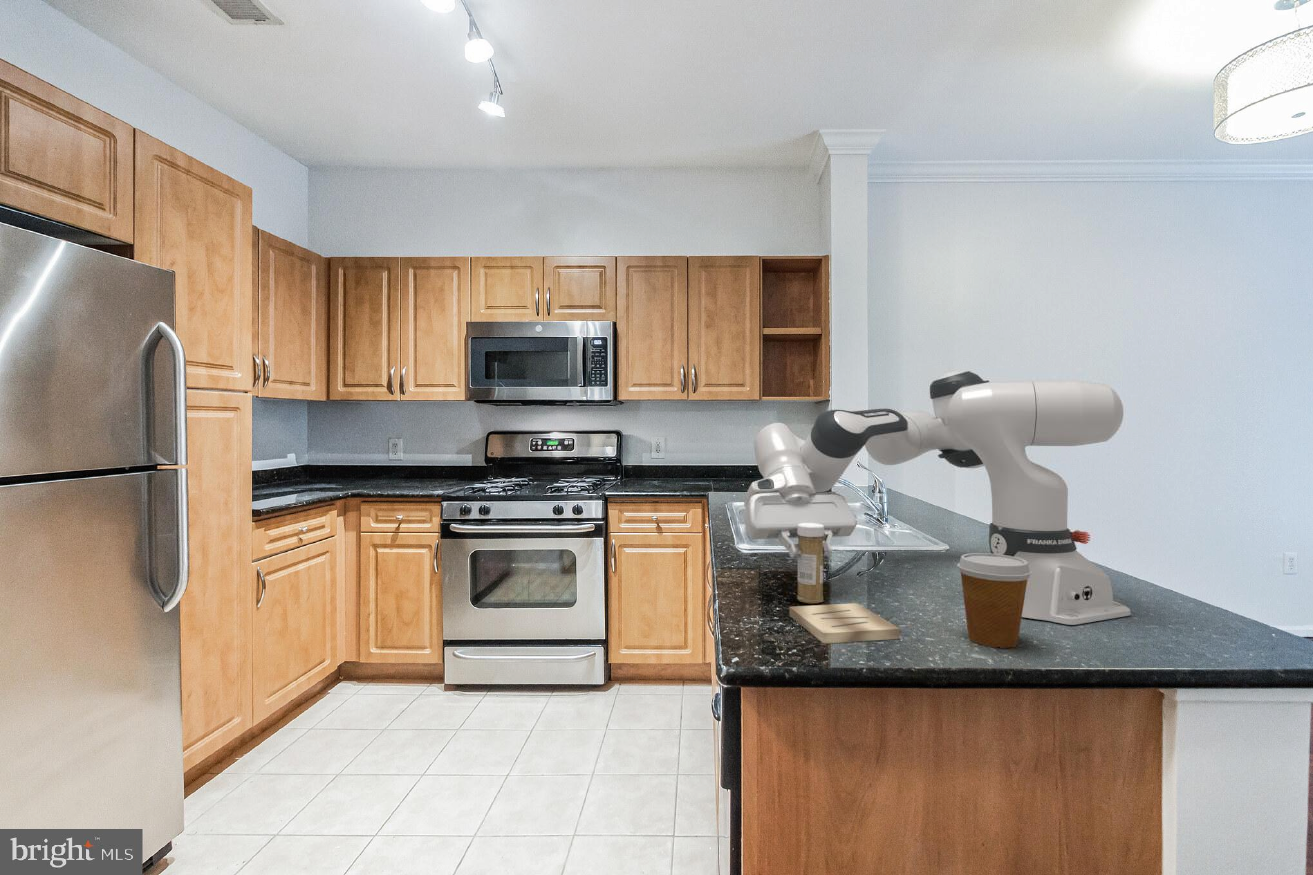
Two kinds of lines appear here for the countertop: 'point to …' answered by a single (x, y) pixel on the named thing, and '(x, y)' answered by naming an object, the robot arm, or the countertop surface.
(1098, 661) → the countertop surface
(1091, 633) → the countertop surface
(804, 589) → the sprinkles bottle
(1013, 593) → the disposable coffee cup
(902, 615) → the countertop surface
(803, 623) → the maple board
